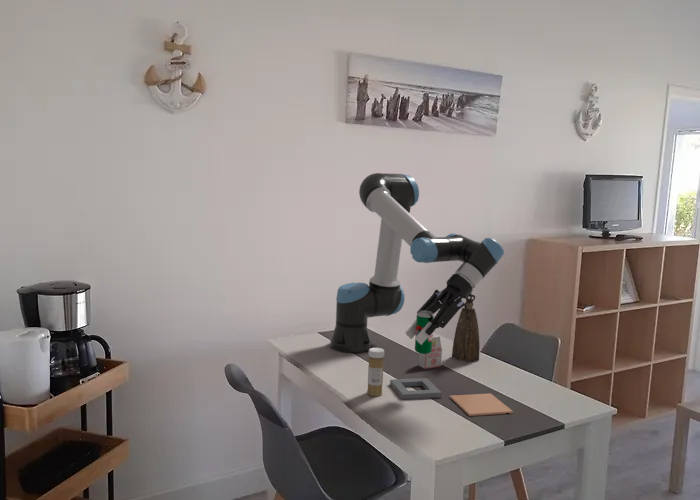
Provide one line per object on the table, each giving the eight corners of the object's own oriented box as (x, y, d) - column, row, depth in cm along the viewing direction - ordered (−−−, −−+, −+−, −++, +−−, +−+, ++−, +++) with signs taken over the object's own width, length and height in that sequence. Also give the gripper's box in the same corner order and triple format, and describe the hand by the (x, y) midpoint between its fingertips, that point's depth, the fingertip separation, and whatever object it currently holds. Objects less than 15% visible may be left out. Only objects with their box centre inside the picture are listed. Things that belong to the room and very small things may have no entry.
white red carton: (418, 365, 195) (420, 337, 194) (434, 363, 198) (436, 335, 197) (424, 368, 192) (426, 340, 191) (440, 366, 195) (442, 338, 194)
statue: (461, 362, 200) (465, 291, 198) (449, 357, 206) (452, 288, 204) (481, 360, 203) (485, 291, 201) (468, 355, 210) (472, 287, 208)
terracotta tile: (450, 397, 168) (450, 395, 168) (490, 395, 171) (490, 393, 171) (469, 416, 155) (469, 413, 155) (512, 413, 158) (512, 411, 158)
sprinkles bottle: (384, 392, 170) (386, 348, 168) (379, 397, 165) (382, 352, 164) (369, 389, 171) (371, 346, 169) (364, 395, 167) (366, 350, 165)
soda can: (431, 355, 166) (433, 314, 165) (413, 353, 167) (416, 313, 166) (432, 350, 171) (434, 311, 170) (415, 348, 172) (417, 309, 171)
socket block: (389, 384, 176) (390, 379, 176) (426, 382, 179) (426, 377, 179) (402, 399, 165) (402, 394, 165) (441, 397, 168) (441, 392, 167)
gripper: (489, 295, 165) (436, 356, 160) (453, 283, 181) (405, 338, 177) (475, 278, 162) (421, 339, 158) (440, 267, 178) (391, 322, 174)
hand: (413, 338), depth 167 cm, fingers closed on soda can, 5 cm apart
